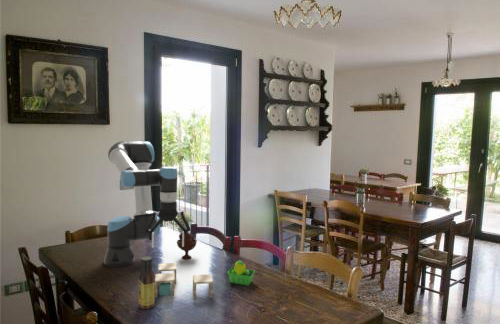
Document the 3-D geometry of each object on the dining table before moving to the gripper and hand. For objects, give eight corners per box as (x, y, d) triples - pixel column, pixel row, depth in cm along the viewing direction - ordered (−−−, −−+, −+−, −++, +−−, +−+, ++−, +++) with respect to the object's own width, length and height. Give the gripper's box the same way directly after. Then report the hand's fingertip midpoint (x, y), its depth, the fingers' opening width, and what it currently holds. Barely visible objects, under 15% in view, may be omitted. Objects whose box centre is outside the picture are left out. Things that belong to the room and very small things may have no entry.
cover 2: (154, 297, 159) (154, 281, 159) (155, 289, 167) (155, 273, 166) (174, 296, 161) (174, 280, 160) (174, 288, 169) (174, 273, 168)
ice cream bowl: (192, 262, 203) (193, 234, 201) (173, 260, 205) (173, 232, 204) (199, 255, 213) (199, 229, 212) (180, 254, 215) (181, 228, 214)
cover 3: (193, 298, 159) (193, 282, 158) (192, 290, 167) (192, 275, 166) (212, 297, 160) (213, 281, 160) (210, 289, 168) (211, 274, 168)
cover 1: (158, 285, 172) (158, 269, 171) (158, 278, 180) (158, 263, 179) (176, 284, 173) (176, 269, 173) (176, 277, 181) (176, 263, 181)
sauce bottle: (140, 302, 154) (140, 254, 152) (155, 302, 154) (156, 254, 153) (136, 310, 147) (136, 260, 146) (153, 310, 148) (153, 260, 146)
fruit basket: (255, 281, 180) (255, 257, 179) (248, 288, 171) (249, 263, 170) (232, 277, 183) (233, 254, 182) (225, 284, 175) (226, 260, 174)
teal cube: (159, 295, 161) (159, 285, 161) (159, 291, 166) (159, 281, 165) (170, 295, 162) (170, 284, 162) (170, 290, 166) (170, 280, 166)
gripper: (139, 202, 167) (139, 249, 169) (196, 202, 172) (195, 248, 174) (140, 199, 175) (140, 244, 176) (195, 199, 180) (194, 243, 181)
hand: (168, 246), depth 175 cm, fingers open, 13 cm apart
